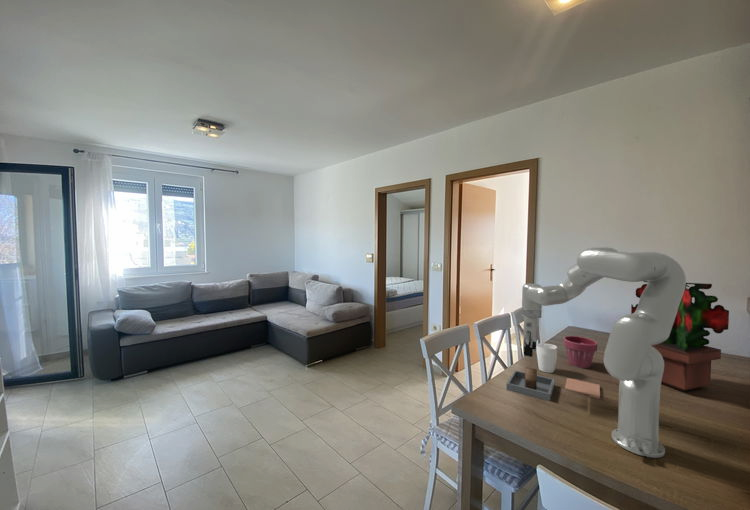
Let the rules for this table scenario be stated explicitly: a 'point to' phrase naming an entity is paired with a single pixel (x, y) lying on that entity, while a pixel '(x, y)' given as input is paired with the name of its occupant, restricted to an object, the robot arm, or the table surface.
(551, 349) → the cup
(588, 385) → the terracotta board
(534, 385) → the walnut peg
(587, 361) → the plant pot
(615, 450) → the table surface
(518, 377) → the bin
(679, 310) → the potted plant
